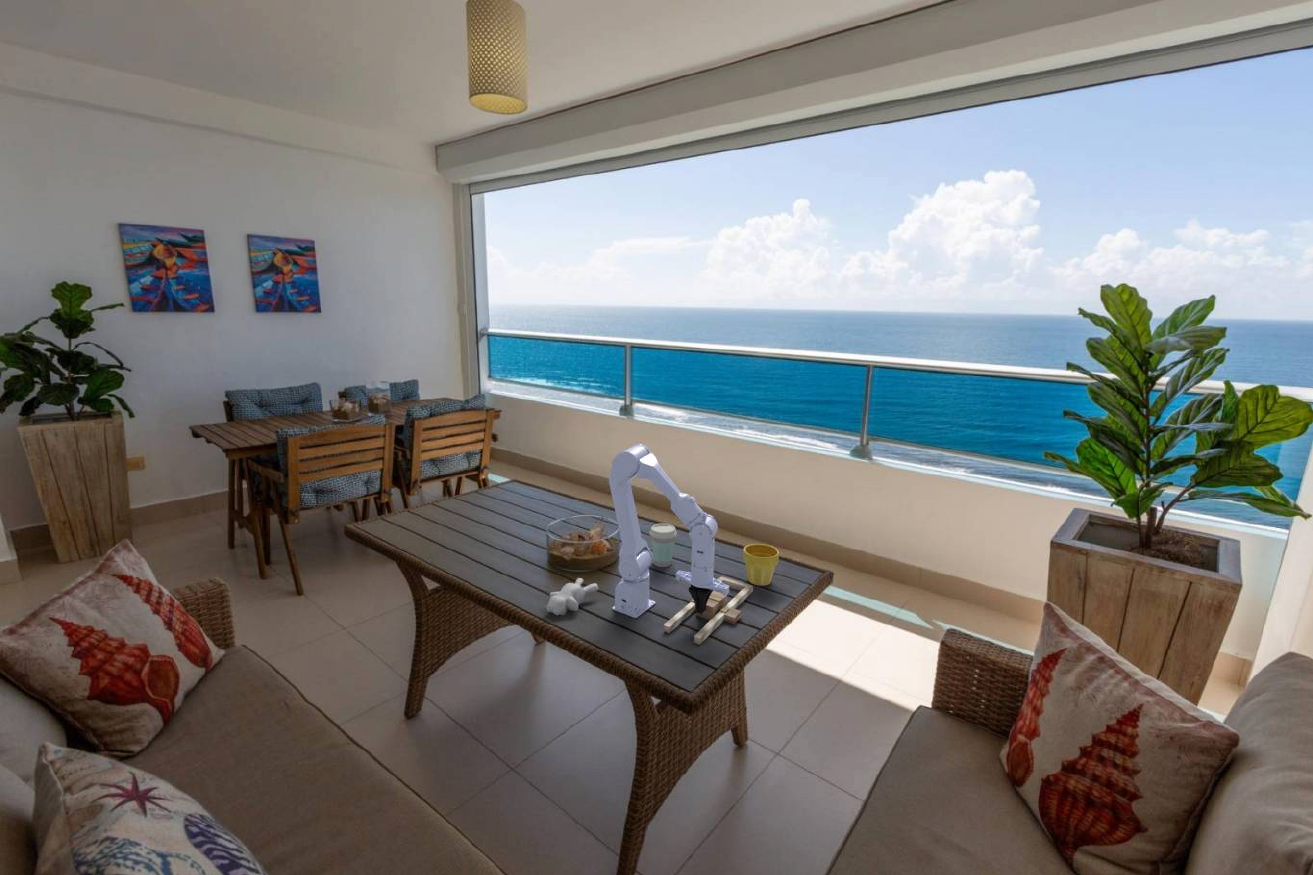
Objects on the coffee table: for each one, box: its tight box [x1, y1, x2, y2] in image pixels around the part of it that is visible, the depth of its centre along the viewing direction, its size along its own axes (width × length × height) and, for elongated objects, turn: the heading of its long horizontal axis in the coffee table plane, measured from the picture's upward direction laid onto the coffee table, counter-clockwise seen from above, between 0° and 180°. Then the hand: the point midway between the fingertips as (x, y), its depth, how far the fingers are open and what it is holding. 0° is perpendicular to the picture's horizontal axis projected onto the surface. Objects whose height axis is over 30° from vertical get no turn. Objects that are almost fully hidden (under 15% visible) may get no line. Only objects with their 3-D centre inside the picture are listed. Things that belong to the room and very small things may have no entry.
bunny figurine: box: [545, 577, 599, 616], centre depth 150 cm, size 10×5×15 cm
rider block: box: [695, 591, 728, 621], centre depth 148 cm, size 8×5×4 cm, turn 147°
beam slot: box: [663, 576, 754, 645], centre depth 148 cm, size 32×13×2 cm, turn 147°
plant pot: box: [742, 543, 780, 587], centre depth 165 cm, size 10×10×10 cm
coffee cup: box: [649, 523, 678, 568], centre depth 175 cm, size 8×8×12 cm
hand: (700, 611), depth 143 cm, fingers closed
